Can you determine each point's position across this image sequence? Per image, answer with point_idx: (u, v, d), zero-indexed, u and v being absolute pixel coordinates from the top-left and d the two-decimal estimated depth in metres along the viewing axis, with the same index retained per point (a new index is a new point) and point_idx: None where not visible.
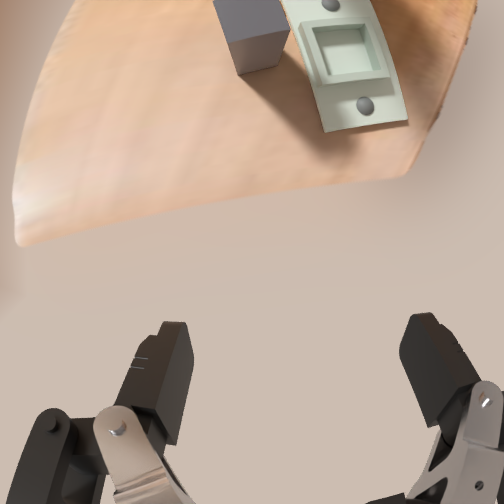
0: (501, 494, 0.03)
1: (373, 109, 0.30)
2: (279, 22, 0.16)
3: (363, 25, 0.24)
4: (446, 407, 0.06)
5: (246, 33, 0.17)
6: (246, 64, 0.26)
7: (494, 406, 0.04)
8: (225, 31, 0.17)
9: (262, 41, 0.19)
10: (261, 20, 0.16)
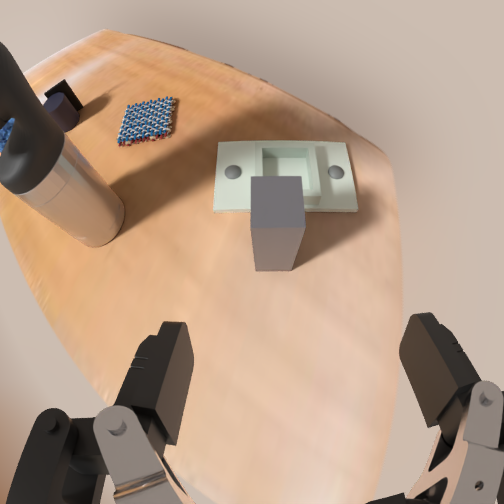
0: (501, 494, 0.03)
1: (339, 166, 0.40)
2: (292, 182, 0.24)
3: (262, 150, 0.39)
4: (446, 407, 0.06)
5: (299, 209, 0.24)
6: None
7: (494, 406, 0.04)
8: (292, 226, 0.23)
9: None
10: (288, 194, 0.24)
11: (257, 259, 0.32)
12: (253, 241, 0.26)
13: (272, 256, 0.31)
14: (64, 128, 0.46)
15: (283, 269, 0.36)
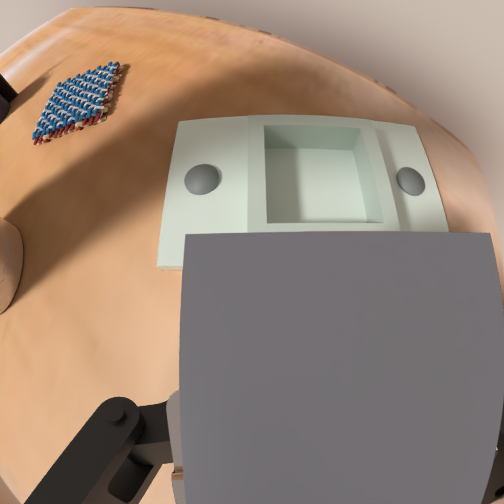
0: None
1: (414, 170, 0.18)
2: (464, 276, 0.03)
3: (264, 131, 0.18)
4: None
5: (479, 453, 0.02)
6: None
7: None
8: None
9: None
10: (443, 376, 0.03)
11: None
12: None
13: None
14: None
15: None
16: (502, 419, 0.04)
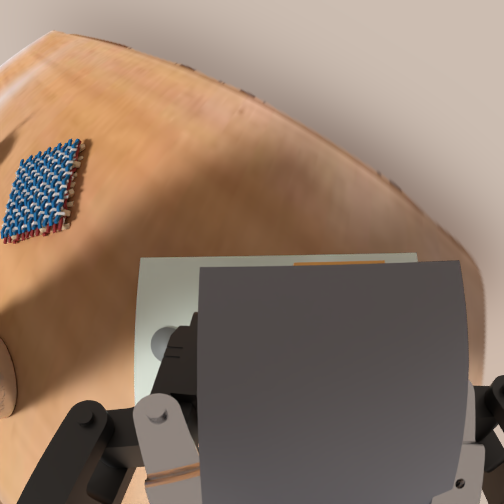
0: (488, 489, 0.03)
1: None
2: (430, 299, 0.04)
3: None
4: None
5: (445, 448, 0.03)
6: None
7: None
8: None
9: None
10: (409, 382, 0.04)
11: None
12: None
13: None
14: None
15: None
16: None
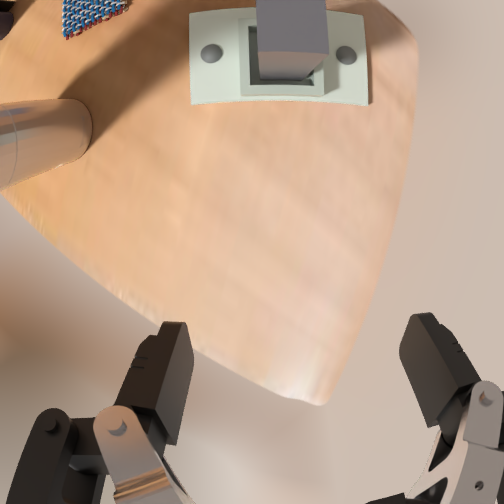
0: (501, 494, 0.03)
1: (351, 48, 0.24)
2: None
3: (249, 27, 0.23)
4: (446, 407, 0.06)
5: (321, 32, 0.14)
6: None
7: (494, 406, 0.04)
8: (311, 50, 0.14)
9: None
10: (306, 12, 0.13)
11: (263, 72, 0.22)
12: (260, 60, 0.17)
13: (282, 71, 0.21)
14: None
15: (293, 79, 0.26)
16: None
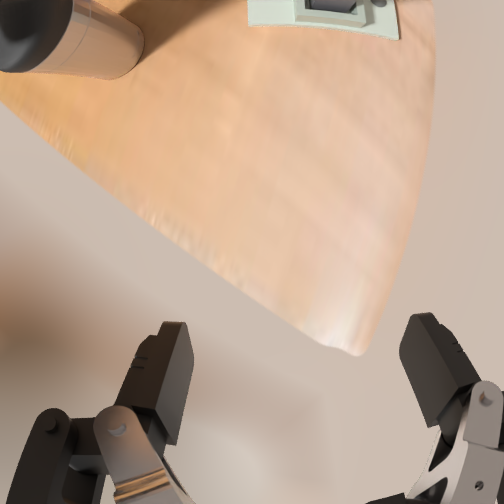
0: (501, 494, 0.03)
1: None
2: None
3: None
4: (446, 407, 0.06)
5: None
6: None
7: (494, 406, 0.04)
8: None
9: None
10: None
11: None
12: None
13: None
14: None
15: (338, 11, 0.24)
16: None
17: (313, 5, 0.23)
